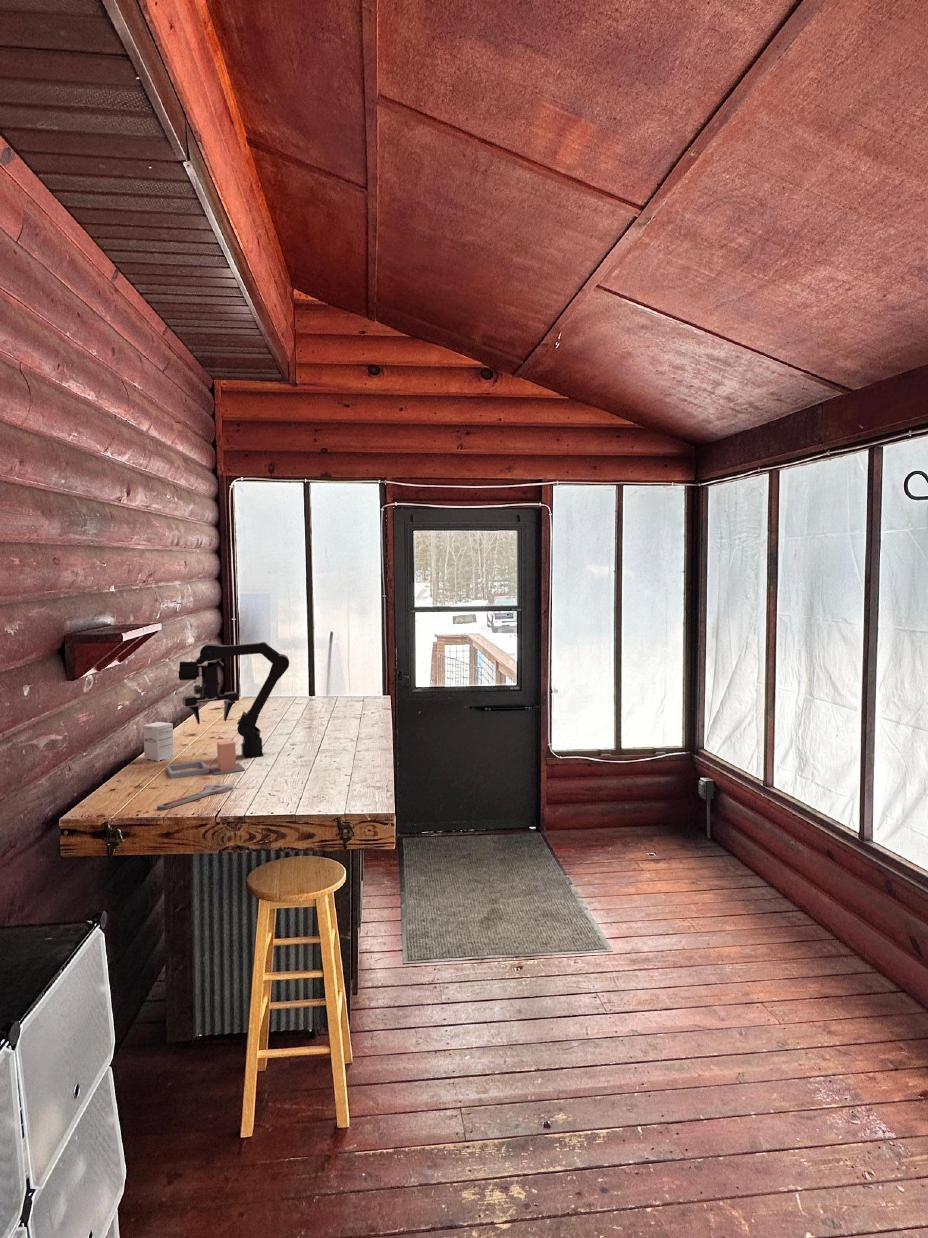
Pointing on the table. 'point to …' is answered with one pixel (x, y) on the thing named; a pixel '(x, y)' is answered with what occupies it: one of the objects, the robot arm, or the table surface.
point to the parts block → (226, 755)
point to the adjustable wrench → (199, 794)
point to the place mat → (216, 770)
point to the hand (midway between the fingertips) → (212, 722)
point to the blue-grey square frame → (187, 773)
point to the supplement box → (158, 741)
